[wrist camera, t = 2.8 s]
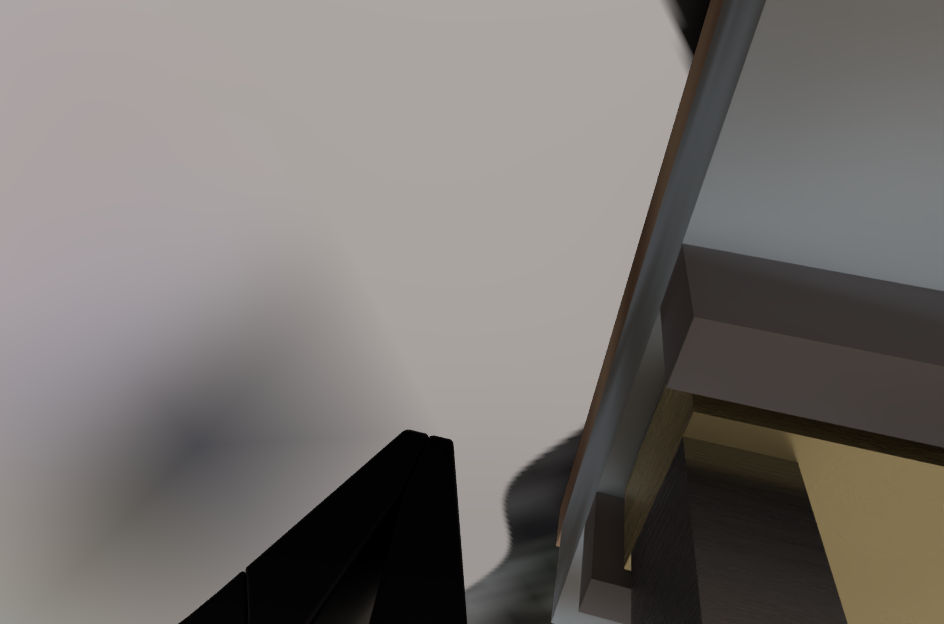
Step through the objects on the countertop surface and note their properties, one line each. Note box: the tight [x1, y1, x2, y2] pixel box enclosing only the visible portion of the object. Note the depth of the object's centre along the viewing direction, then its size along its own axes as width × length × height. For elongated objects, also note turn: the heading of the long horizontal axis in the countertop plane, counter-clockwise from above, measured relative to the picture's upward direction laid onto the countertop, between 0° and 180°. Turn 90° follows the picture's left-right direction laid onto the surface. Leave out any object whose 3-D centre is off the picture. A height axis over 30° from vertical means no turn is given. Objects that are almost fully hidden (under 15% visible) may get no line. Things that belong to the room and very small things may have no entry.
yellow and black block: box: [624, 384, 944, 624], centre depth 8 cm, size 4×6×5 cm, turn 85°
